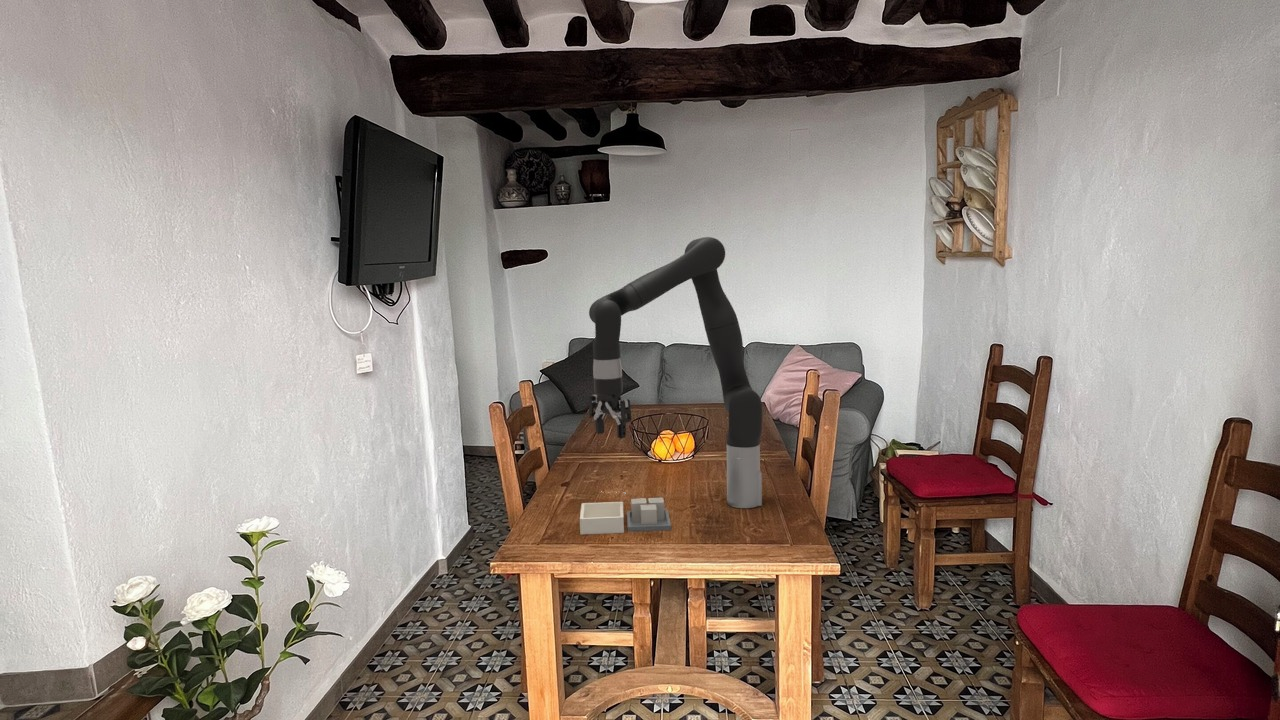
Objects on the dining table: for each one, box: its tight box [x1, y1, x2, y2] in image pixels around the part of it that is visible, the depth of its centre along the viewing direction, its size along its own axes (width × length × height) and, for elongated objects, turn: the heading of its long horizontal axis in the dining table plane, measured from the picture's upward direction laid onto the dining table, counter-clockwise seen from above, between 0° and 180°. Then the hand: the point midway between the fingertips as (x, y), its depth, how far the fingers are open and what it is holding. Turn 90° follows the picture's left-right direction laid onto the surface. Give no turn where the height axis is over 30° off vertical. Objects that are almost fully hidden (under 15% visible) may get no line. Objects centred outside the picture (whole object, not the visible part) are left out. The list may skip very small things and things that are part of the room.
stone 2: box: [640, 504, 657, 525], centre depth 185 cm, size 4×4×5 cm
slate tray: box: [626, 508, 672, 533], centre depth 188 cm, size 11×12×2 cm
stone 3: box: [647, 497, 665, 521], centre depth 190 cm, size 4×4×5 cm
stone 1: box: [630, 497, 648, 522], centre depth 190 cm, size 4×4×5 cm
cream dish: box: [579, 501, 625, 535], centre depth 187 cm, size 11×12×5 cm
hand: (610, 435), depth 191 cm, fingers open, 8 cm apart
